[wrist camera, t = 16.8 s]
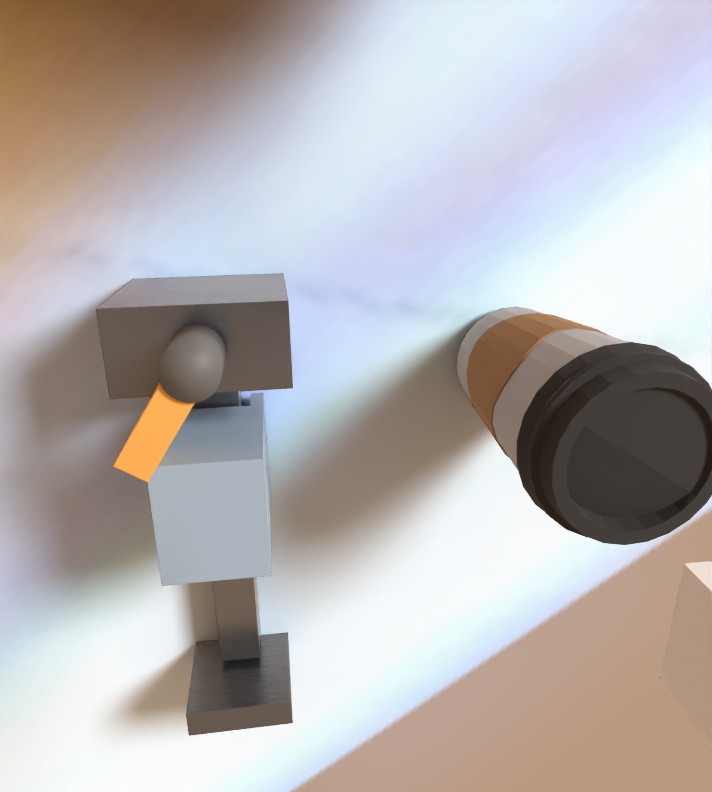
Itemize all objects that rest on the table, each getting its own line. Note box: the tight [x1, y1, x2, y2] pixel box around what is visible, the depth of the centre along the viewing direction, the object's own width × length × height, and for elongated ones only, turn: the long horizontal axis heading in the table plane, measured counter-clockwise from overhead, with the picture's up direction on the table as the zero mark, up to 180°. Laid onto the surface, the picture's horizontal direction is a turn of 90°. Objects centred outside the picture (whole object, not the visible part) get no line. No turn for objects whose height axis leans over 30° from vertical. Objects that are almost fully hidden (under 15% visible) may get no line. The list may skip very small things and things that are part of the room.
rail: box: [194, 391, 260, 661], centre depth 38 cm, size 19×2×2 cm, turn 1°
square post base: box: [186, 633, 293, 735], centre depth 40 cm, size 2×6×6 cm, turn 91°
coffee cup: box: [457, 307, 712, 545], centre depth 32 cm, size 8×8×15 cm
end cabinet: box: [96, 273, 293, 399], centre depth 32 cm, size 4×8×8 cm, turn 91°
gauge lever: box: [114, 325, 226, 482], centre depth 27 cm, size 2×6×3 cm, turn 147°
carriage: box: [147, 393, 271, 586], centre depth 33 cm, size 6×5×9 cm
